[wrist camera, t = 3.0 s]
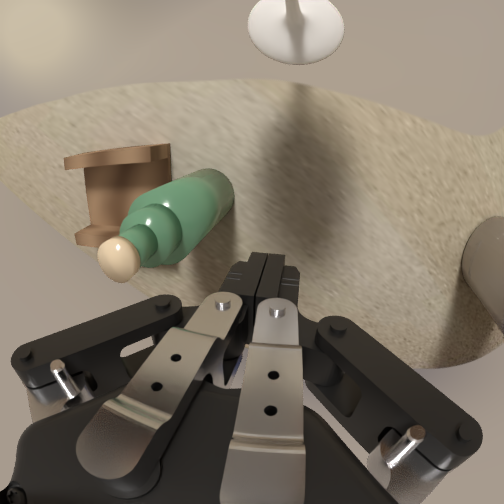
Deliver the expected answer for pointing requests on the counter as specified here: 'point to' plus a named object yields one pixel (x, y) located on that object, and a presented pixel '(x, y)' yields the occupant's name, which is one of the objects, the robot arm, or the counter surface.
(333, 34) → the wineglass
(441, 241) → the counter surface
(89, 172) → the brown wooden u-shaped block
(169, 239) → the bottle
